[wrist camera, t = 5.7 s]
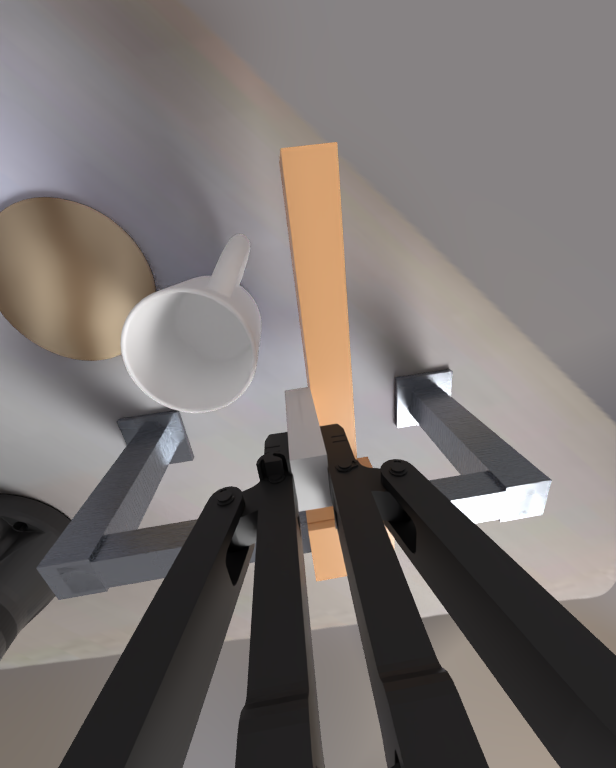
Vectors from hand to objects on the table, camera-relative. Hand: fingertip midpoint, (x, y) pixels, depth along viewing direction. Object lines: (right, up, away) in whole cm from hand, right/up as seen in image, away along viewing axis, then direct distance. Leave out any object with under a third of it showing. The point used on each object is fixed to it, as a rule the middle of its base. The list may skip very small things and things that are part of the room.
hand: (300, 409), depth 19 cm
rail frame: (-1, -2, +15) cm, 15 cm away
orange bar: (+2, +2, +1) cm, 3 cm away
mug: (-7, +9, +10) cm, 15 cm away
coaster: (-19, +10, +8) cm, 23 cm away
